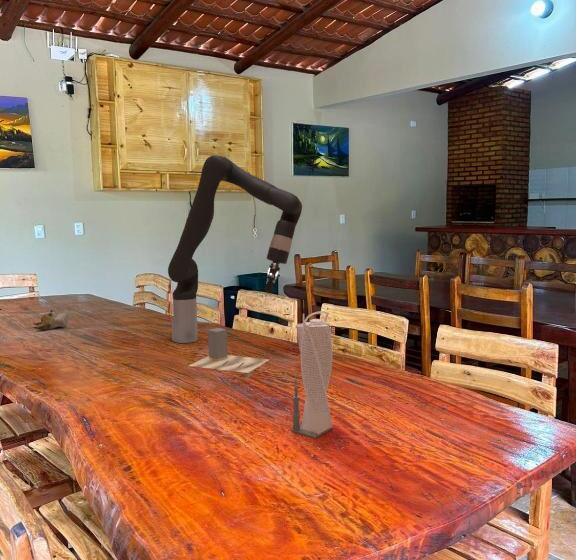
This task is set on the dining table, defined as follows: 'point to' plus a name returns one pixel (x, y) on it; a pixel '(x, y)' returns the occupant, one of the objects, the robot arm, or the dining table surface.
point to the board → (232, 364)
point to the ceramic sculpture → (52, 320)
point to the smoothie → (300, 333)
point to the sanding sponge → (217, 344)
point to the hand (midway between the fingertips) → (267, 292)
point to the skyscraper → (314, 378)
